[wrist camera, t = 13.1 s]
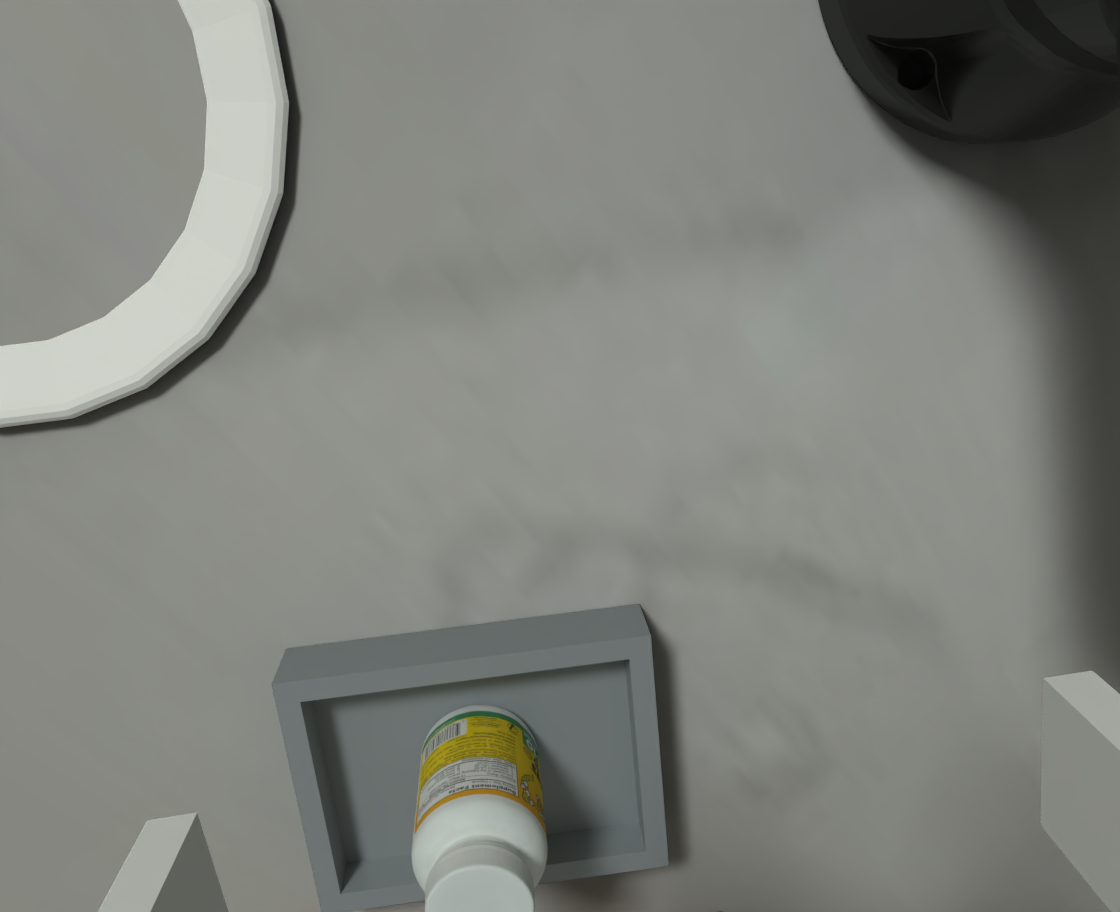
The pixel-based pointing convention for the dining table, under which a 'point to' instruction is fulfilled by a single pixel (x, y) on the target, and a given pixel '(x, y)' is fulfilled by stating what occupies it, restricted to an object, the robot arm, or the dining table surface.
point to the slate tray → (450, 684)
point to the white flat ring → (202, 249)
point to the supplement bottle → (479, 814)
